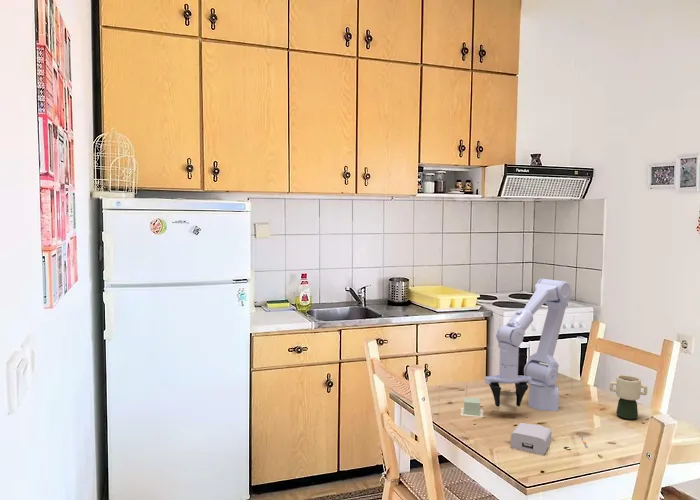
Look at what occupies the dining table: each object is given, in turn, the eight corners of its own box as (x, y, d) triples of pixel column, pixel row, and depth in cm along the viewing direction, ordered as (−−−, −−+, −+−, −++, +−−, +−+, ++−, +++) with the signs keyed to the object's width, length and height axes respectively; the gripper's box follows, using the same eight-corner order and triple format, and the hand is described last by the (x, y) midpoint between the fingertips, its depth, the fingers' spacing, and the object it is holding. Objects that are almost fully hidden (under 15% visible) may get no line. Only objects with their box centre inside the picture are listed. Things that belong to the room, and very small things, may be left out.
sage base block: (480, 410, 178) (480, 398, 177) (479, 415, 173) (480, 403, 173) (464, 408, 179) (464, 397, 179) (463, 414, 174) (464, 402, 174)
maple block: (515, 407, 175) (515, 392, 175) (516, 412, 170) (516, 397, 170) (499, 405, 176) (499, 390, 176) (499, 411, 171) (500, 395, 171)
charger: (555, 437, 160) (544, 456, 147) (523, 430, 165) (510, 448, 152) (555, 421, 160) (545, 439, 147) (523, 415, 164) (510, 432, 151)
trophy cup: (644, 416, 177) (646, 377, 177) (647, 423, 171) (649, 383, 170) (607, 411, 181) (609, 373, 181) (609, 418, 175) (610, 379, 174)
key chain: (559, 432, 164) (559, 429, 164) (585, 435, 161) (585, 433, 161) (561, 449, 152) (561, 446, 152) (590, 453, 149) (590, 450, 149)
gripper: (526, 360, 177) (524, 400, 178) (482, 360, 176) (481, 401, 177) (534, 366, 170) (533, 408, 171) (489, 366, 169) (488, 409, 170)
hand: (507, 405), depth 173 cm, fingers closed on maple block, 6 cm apart
